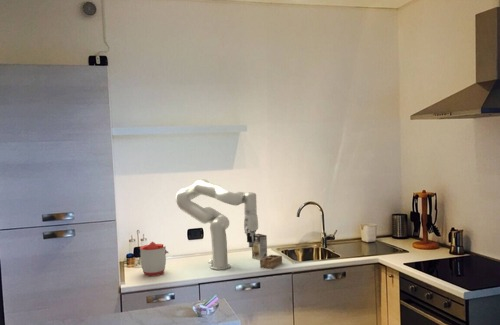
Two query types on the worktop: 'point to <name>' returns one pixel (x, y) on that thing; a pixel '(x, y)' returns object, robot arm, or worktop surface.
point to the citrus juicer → (153, 259)
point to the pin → (252, 240)
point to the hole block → (271, 261)
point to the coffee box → (259, 247)
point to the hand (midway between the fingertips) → (251, 241)
